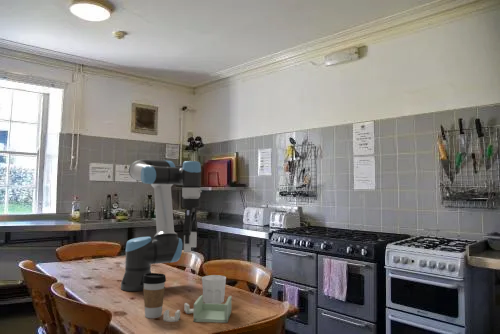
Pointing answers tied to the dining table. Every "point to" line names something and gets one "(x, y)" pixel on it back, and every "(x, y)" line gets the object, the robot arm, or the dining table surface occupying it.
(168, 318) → the clip
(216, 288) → the cup
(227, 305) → the holder
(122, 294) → the dining table surface
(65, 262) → the dining table surface
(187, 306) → the clip
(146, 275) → the coffee cup
